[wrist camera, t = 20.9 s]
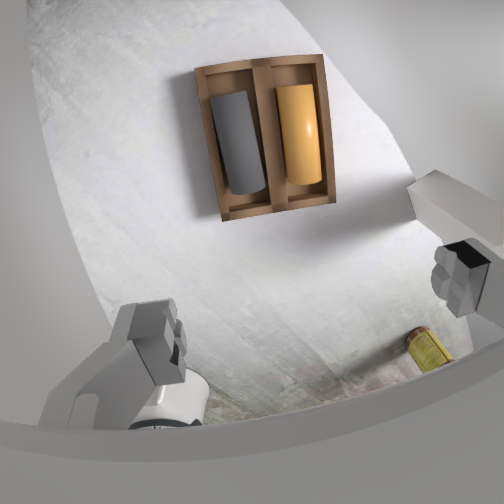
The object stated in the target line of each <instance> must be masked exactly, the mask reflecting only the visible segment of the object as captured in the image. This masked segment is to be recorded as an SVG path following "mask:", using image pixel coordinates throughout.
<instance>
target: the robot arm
mask: <svg viewBox="0 0 504 504" xmlns="http://www.w3.org/2000/svg"><path fill="white" fill-rule="evenodd" d="M434 259H435V261H436V263H437V264H436V266H435V267H434V269H433V270H432V276H431V283H432V288H433V290H434V292H435V294H436V295H437V296H438V297H439V298H441V299H443V300H446V306H447V307H448V309H449V310H450V311H451V312H452V313H453V314H454V315H455V317H456V318H459V317H462V316H465V315H468V314H471V313H474V312H476V313H477V314H479V315H480V316H482V317H484V318H486V319H488V320H489V321H491V322H493V323H495V324H496V325H498V326H500V327H502V328H504V259H501V258H500V257H499V256H498V255H496V254H495V253H494V252H493V251H491V250H490V249H489V248H487V247H486V246H485V245H483V244H482V243H481V242H479V241H478V240H477V239H475V238H468V239H465V240H461V241H459V242H455V243H451V244H447V245H443V246H439V247H437V249H436V251H435V257H434ZM186 353H187V342H186V335H185V331H184V327H183V324H182V322H181V321H179V320H178V319H177V308H176V305H175V302H174V300H173V299H172V298H169V299H162V300H154V301H147V302H140V303H132V304H126V305H123V306H121V307H120V310H119V313H118V316H117V318H116V321H115V324H114V327H113V330H112V333H111V336H110V339H109V342H106V343H103V344H102V345H101V346H100V347H99V348H98V349H96V350H95V351H94V352H93V353H92V354H91V355H90V356H89V357H88V358H86V359H85V360H84V361H83V362H82V363H81V364H80V365H79V366H78V367H76V368H75V369H74V370H73V371H72V372H71V373H70V374H69V375H68V376H67V377H66V378H65V379H63V380H62V381H61V382H60V383H59V384H58V385H57V386H56V387H55V388H53V389H52V390H51V391H50V392H49V395H48V397H47V400H46V403H45V406H44V408H43V411H42V414H41V417H40V420H39V423H38V426H36V425H27V424H19V423H13V422H6V421H0V504H504V338H502V339H500V340H498V341H497V342H494V343H492V344H490V345H488V346H486V347H484V348H482V349H480V350H478V351H476V352H473V353H471V354H469V355H467V356H465V357H462V358H460V359H458V360H455V361H453V362H451V363H448V364H446V365H443V366H441V367H439V368H436V369H433V370H431V371H428V372H426V373H423V374H420V375H418V376H415V377H412V378H410V379H407V380H404V381H401V382H398V383H395V384H392V385H389V386H386V387H383V388H380V389H377V390H373V391H370V392H367V393H364V394H360V395H357V396H353V397H350V398H346V399H342V400H338V401H335V402H331V403H327V404H323V405H319V406H314V407H310V408H306V409H301V410H296V411H292V412H287V413H282V414H277V415H271V416H266V417H260V418H254V419H247V420H241V421H234V422H226V423H219V424H210V425H203V417H204V410H205V406H206V402H207V399H208V396H209V393H210V390H209V386H208V384H207V382H206V381H205V380H204V379H203V378H202V377H201V376H200V375H198V374H197V373H195V372H193V371H191V370H189V369H186V363H185V361H184V359H183V357H184V356H185V355H186Z"/></svg>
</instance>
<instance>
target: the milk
mask: <svg viewBox="0 0 504 504" xmlns="http://www.w3.org/2000/svg"><path fill="white" fill-rule="evenodd" d="M407 190H408V193H409V196H410V199H411V202H412V206H413V209H414V212H415V215H416V219H417V220H418V221H419V222H421V223H422V224H423V225H424V226H426V227H427V228H428V229H430V230H431V231H432V232H433V233H435V234H436V235H437V236H438V237H440V238H441V239H442V240H443V241H445V242H446V243H447V244H451V243H455V242H459V241H461V240H465V239H468V238H475V239H477V240H478V241H479V242H481V243H482V244H483V245H485V246H486V247H487V248H489V249H490V250H491V251H493V252H494V253H495V254H496V255H498V256H499V257H500V258H501V259H504V205H502V204H501V203H499V202H497V201H495V200H494V199H492V198H490V197H488V196H486V195H485V194H483V193H481V192H479V191H477V190H475V189H474V188H472V187H470V186H468V185H466V184H464V183H462V182H460V181H458V180H456V179H454V178H452V177H450V176H448V175H446V174H444V173H442V172H440V171H438V170H434V171H432V172H431V173H429V174H427V175H426V176H424V177H423V178H421V179H419V180H418V181H416V182H414V183H413V184H411V185H409V186H408V187H407Z"/></svg>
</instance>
